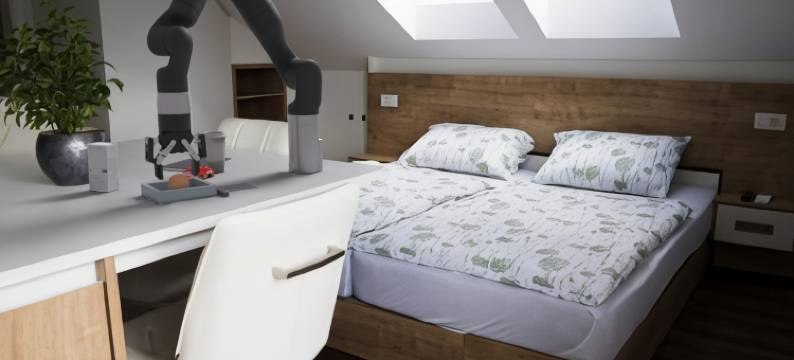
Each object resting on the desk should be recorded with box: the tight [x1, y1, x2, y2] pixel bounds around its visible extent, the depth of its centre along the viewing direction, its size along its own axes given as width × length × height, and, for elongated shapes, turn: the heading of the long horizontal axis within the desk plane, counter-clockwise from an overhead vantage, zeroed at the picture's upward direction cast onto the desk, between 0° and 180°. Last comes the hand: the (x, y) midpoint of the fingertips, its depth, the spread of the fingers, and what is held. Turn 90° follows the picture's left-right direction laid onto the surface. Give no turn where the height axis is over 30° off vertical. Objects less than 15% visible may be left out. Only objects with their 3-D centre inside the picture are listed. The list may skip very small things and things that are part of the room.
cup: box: [203, 130, 228, 175], centre depth 188 cm, size 7×7×12 cm
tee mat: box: [216, 182, 259, 193], centre depth 166 cm, size 8×8×1 cm
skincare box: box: [86, 141, 120, 193], centre depth 162 cm, size 6×4×12 cm
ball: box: [167, 173, 189, 190], centre depth 156 cm, size 5×5×5 cm
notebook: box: [162, 157, 233, 172], centre depth 201 cm, size 13×2×21 cm
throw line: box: [216, 186, 230, 198], centre depth 162 cm, size 1×18×1 cm, turn 39°
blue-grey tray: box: [140, 177, 218, 206], centre depth 156 cm, size 14×13×3 cm
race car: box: [180, 167, 215, 180], centre depth 176 cm, size 13×5×4 cm, turn 156°
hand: (177, 177), depth 156 cm, fingers open, 8 cm apart
